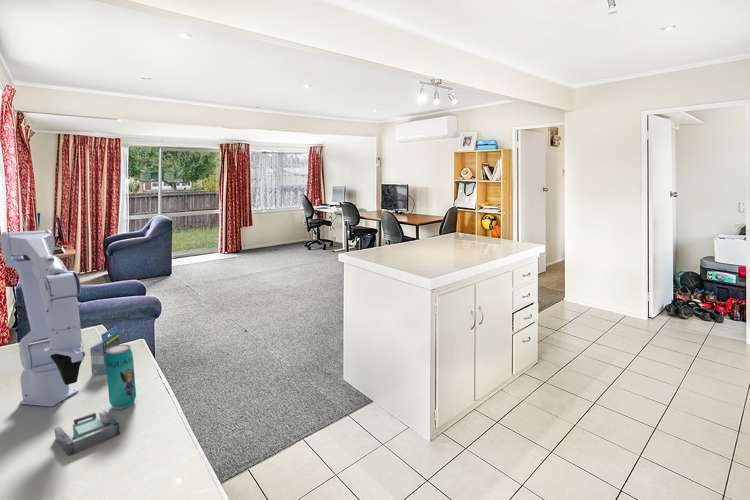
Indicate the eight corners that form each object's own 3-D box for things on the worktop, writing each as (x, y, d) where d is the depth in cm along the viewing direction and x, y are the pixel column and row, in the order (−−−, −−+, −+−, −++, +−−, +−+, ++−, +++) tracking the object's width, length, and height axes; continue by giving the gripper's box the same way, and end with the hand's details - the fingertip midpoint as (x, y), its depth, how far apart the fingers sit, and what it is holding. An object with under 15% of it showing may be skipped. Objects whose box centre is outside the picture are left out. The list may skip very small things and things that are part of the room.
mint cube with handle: (73, 436, 89) (72, 419, 88) (97, 428, 92) (96, 411, 92) (80, 447, 85) (78, 429, 85) (104, 437, 89) (103, 420, 88)
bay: (55, 439, 88) (54, 428, 87) (105, 419, 95) (104, 410, 95) (68, 455, 82) (67, 444, 82) (120, 434, 90) (119, 423, 89)
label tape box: (108, 362, 127) (104, 325, 125) (121, 362, 127) (118, 324, 125) (91, 375, 118) (87, 335, 116) (106, 374, 118) (102, 334, 117)
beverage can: (124, 411, 99) (118, 353, 96) (104, 409, 100) (98, 351, 98) (141, 400, 104) (137, 345, 102) (122, 397, 105) (118, 343, 103)
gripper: (33, 323, 92) (39, 379, 94) (52, 338, 83) (59, 400, 85) (70, 316, 97) (75, 369, 99) (91, 329, 88) (97, 387, 90)
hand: (70, 382), depth 92 cm, fingers closed
